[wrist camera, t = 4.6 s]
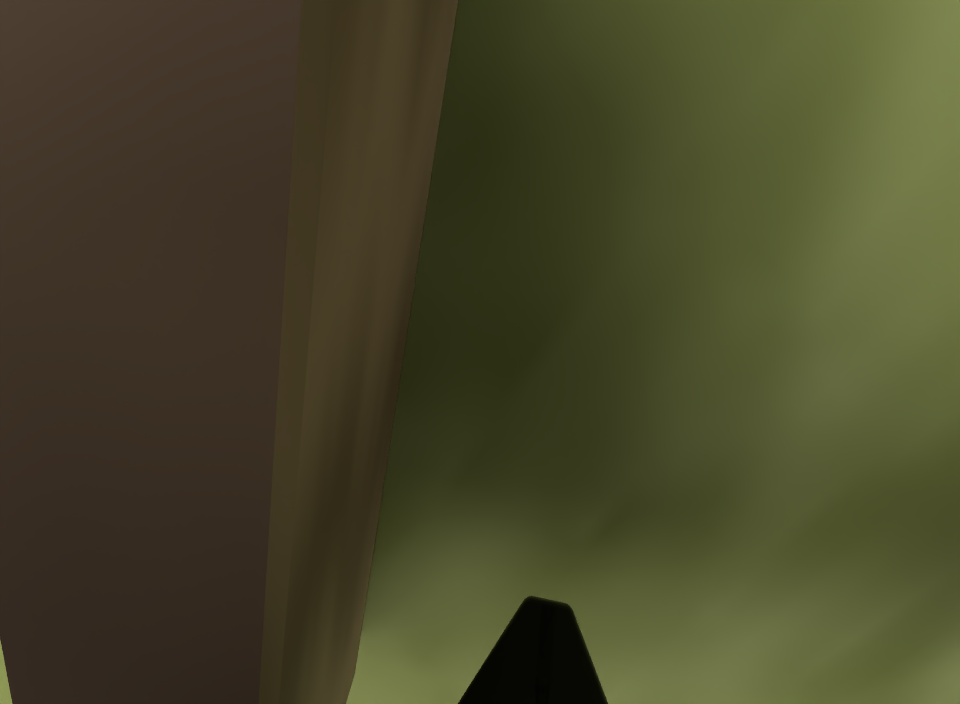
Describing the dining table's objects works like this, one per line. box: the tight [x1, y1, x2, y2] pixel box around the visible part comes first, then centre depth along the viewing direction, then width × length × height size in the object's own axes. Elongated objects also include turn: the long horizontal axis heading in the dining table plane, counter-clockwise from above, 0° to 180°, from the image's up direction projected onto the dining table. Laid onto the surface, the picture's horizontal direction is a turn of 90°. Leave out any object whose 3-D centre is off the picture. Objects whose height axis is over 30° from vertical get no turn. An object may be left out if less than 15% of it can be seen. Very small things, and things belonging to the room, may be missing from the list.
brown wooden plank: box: [0, 0, 458, 704], centre depth 9 cm, size 14×2×6 cm, turn 170°
